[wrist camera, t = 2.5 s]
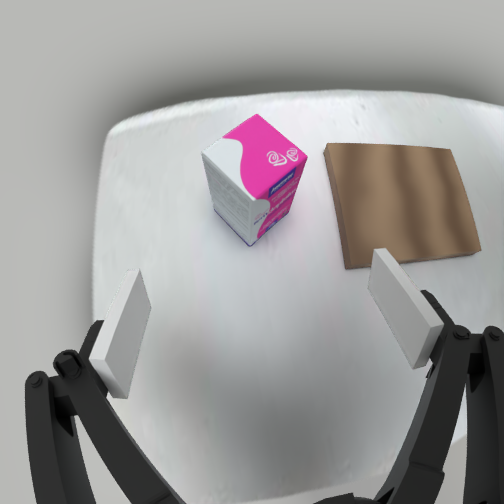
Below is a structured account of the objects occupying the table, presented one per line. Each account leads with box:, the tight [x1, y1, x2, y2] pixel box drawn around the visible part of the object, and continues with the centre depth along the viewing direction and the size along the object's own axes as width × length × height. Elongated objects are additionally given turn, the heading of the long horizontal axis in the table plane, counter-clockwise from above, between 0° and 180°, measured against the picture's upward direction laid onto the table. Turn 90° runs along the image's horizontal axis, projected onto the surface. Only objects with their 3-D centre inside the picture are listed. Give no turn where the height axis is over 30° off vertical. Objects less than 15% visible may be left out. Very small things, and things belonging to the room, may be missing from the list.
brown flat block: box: [324, 143, 481, 269], centre depth 32 cm, size 18×14×2 cm
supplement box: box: [202, 114, 308, 246], centre depth 27 cm, size 6×6×12 cm
